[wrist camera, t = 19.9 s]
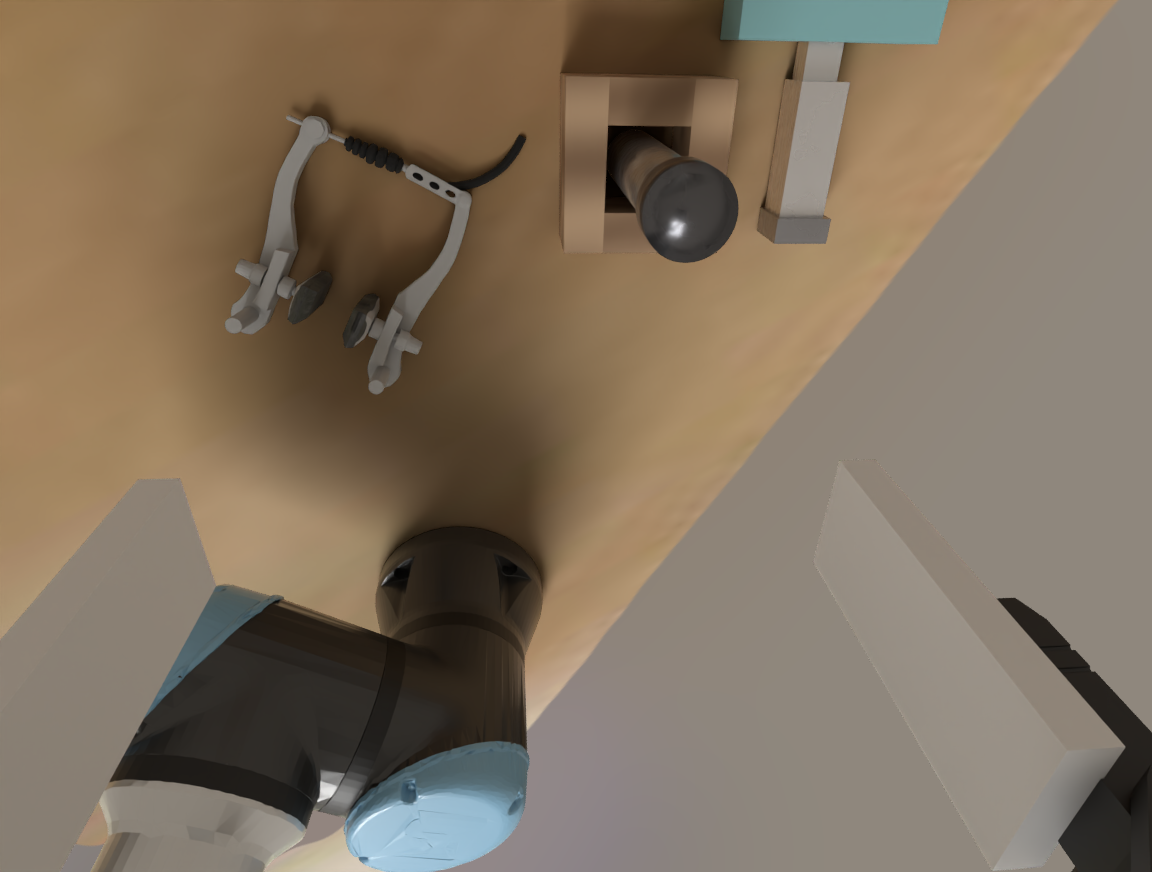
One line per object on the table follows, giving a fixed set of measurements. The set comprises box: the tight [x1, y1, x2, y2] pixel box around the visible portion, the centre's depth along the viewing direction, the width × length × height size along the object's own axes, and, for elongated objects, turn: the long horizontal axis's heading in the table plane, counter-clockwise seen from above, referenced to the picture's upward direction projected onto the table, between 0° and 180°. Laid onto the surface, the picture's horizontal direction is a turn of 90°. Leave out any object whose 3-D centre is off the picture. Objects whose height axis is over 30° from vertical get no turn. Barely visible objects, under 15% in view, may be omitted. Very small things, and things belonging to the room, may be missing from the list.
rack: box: [559, 73, 739, 253], centre depth 43 cm, size 10×10×5 cm
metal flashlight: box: [606, 129, 738, 263], centre depth 38 cm, size 4×4×17 cm
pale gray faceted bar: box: [757, 41, 850, 244], centre depth 43 cm, size 14×4×4 cm, turn 179°
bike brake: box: [225, 115, 526, 394], centre depth 44 cm, size 14×7×20 cm
